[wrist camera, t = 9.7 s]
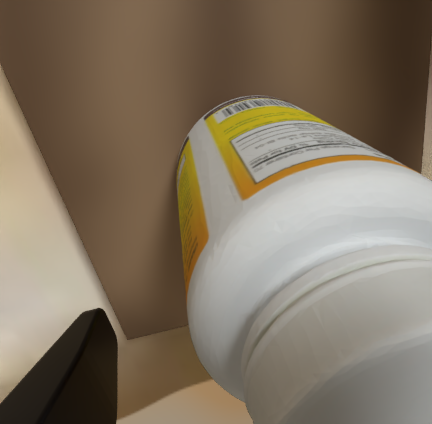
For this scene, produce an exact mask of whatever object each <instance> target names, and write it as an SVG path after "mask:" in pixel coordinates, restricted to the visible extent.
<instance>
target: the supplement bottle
mask: <svg viewBox="0 0 432 424" xmlns="http://www.w3.org/2000/svg"><path fill="white" fill-rule="evenodd" d="M176 183H177V196H178V207H179V221H180V231H181V243H182V254H183V267H184V279H185V291H186V305H187V316H188V324H189V330H190V335H191V339H192V342H193V346H194V348H195V351H196V353H197V356H198V358H199V360H200V362H201V363H202V365H203V366H204V368H205V369H206V371H207V372H208V373H209V375H210V376H211V377H212V378H213V379H214V380H215V382H216V383H218V384H219V385H220V386H221V387H222V388H223V389H224V390H226V391H227V392H229V393H230V394H231V395H233V396H234V397H236V398H237V399H239V400H241V401H243V402H245V403H246V407H247V410H248V412H249V414H250V416H251V418H252V419H253V423H254V424H432V181H431V180H429V179H428V178H426V177H425V176H423V175H421V174H420V173H418V172H417V171H415V170H413V169H411V168H409V167H407V166H405V165H403V164H401V163H400V162H398V161H396V160H394V159H393V158H391V157H389V156H387V155H385V154H383V153H381V152H379V151H377V150H376V149H374V148H372V147H370V146H368V145H367V144H365V143H363V142H361V141H359V140H357V139H356V138H354V137H352V136H350V135H348V134H347V133H345V132H343V131H341V130H339V129H338V128H336V127H334V126H332V125H330V124H329V123H327V122H325V121H323V120H321V119H319V118H317V117H315V116H314V115H312V114H310V113H308V112H306V111H304V110H302V109H300V108H299V107H297V106H295V105H293V104H291V103H289V102H287V101H285V100H281V99H278V98H274V97H269V96H259V95H255V96H245V97H239V98H235V99H232V100H229V101H227V102H224V103H222V104H220V105H218V106H217V107H215V108H213V109H212V110H210V111H209V112H208V113H206V114H205V115H204V116H203V117H202V118H201V119H200V120H199V121H198V122H197V123H196V124H195V125H194V126H193V128H192V129H191V130H190V132H189V133H188V135H187V137H186V139H185V140H184V143H183V145H182V147H181V150H180V153H179V157H178V162H177V172H176Z"/></svg>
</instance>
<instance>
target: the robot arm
mask: <svg viewBox="0 0 432 424" xmlns="http://www.w3.org/2000/svg"><path fill="white" fill-rule="evenodd" d="M117 358H118V344H117V337H116V334H115V332H114V330H113V328H112V325H111V323H110V321H109V319H108V317H107V315H106V313H105V311H104V310H103V309H101V308H97V309H93V310H89V311H85V312H83V313H82V314H80V315H79V317H78V318H77V319H76V320H75V321H74V322H73V323H72V324H71V326H70V327H69V328H68V329H67V330H66V331H65V332H64V333H63V334H62V336H61V337H60V338H59V339H58V340H57V341H56V342H55V343H54V344H53V346H52V347H51V348H50V349H49V350H48V351H47V352H46V353H45V354H44V356H43V357H42V358H41V359H40V360H39V361H38V362H37V363H36V365H35V366H34V367H33V368H32V369H31V370H30V371H29V372H28V373H27V375H26V376H25V377H24V378H23V379H22V380H21V381H20V382H19V383H18V385H17V386H16V387H15V388H14V389H13V390H12V391H11V392H10V393H9V395H8V396H7V397H6V398H5V399H4V400H3V401H2V402H1V403H0V424H116V419H117Z"/></svg>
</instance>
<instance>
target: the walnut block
mask: <svg viewBox="0 0 432 424" xmlns="http://www.w3.org/2000/svg"><path fill="white" fill-rule="evenodd" d="M431 37H432V0H0V63H1V66H2V68H3V70H4V72H5V74H6V77H7V79H8V81H9V83H10V85H11V87H12V90H13V92H14V94H15V96H16V98H17V100H18V103H19V105H20V107H21V109H22V111H23V114H24V116H25V118H26V120H27V122H28V124H29V127H30V129H31V131H32V133H33V135H34V137H35V140H36V142H37V144H38V146H39V148H40V151H41V153H42V155H43V157H44V159H45V161H46V164H47V166H48V168H49V170H50V172H51V175H52V177H53V179H54V181H55V183H56V185H57V188H58V190H59V192H60V194H61V196H62V198H63V201H64V203H65V205H66V207H67V209H68V212H69V214H70V216H71V218H72V220H73V222H74V225H75V227H76V229H77V231H78V233H79V236H80V238H81V240H82V242H83V244H84V246H85V249H86V251H87V253H88V255H89V257H90V259H91V262H92V264H93V266H94V268H95V270H96V273H97V275H98V277H99V279H100V281H101V283H102V286H103V288H104V290H105V292H106V294H107V296H108V299H109V301H110V303H111V305H112V307H113V310H114V312H115V314H116V316H117V318H118V320H119V323H120V325H121V327H122V329H123V331H124V334H125V336H126V338H127V340H130V339H134V338H138V337H142V336H146V335H150V334H154V333H158V332H162V331H166V330H170V329H174V328H178V327H182V326H187V325H189V324H188V316H187V305H186V291H185V279H184V267H183V254H182V243H181V231H180V221H179V207H178V196H177V183H176V172H177V162H178V157H179V153H180V150H181V147H182V145H183V143H184V140H185V139H186V137H187V135H188V133H189V132H190V130H191V129H192V128H193V126H194V125H195V124H196V123H197V122H198V121H199V120H200V119H201V118H202V117H203V116H204V115H205V114H206V113H208V112H209V111H210V110H212V109H213V108H215V107H217V106H218V105H220V104H222V103H224V102H227V101H229V100H232V99H235V98H239V97H245V96H255V95H259V96H269V97H274V98H278V99H281V100H285V101H287V102H289V103H291V104H293V105H295V106H297V107H299V108H300V109H302V110H304V111H306V112H308V113H310V114H312V115H314V116H315V117H317V118H319V119H321V120H323V121H325V122H327V123H329V124H330V125H332V126H334V127H336V128H338V129H339V130H341V131H343V132H345V133H347V134H348V135H350V136H352V137H354V138H356V139H357V140H359V141H361V142H363V143H365V144H367V145H368V146H370V147H372V148H374V149H376V150H377V151H379V152H381V153H383V154H385V155H387V156H389V157H391V158H393V159H394V160H396V161H398V162H400V163H401V164H403V165H405V166H407V167H409V168H411V169H413V170H415V171H417V172H418V173H420V174H421V169H422V156H423V143H424V130H425V116H426V103H427V90H428V77H429V64H430V51H431Z"/></svg>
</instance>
